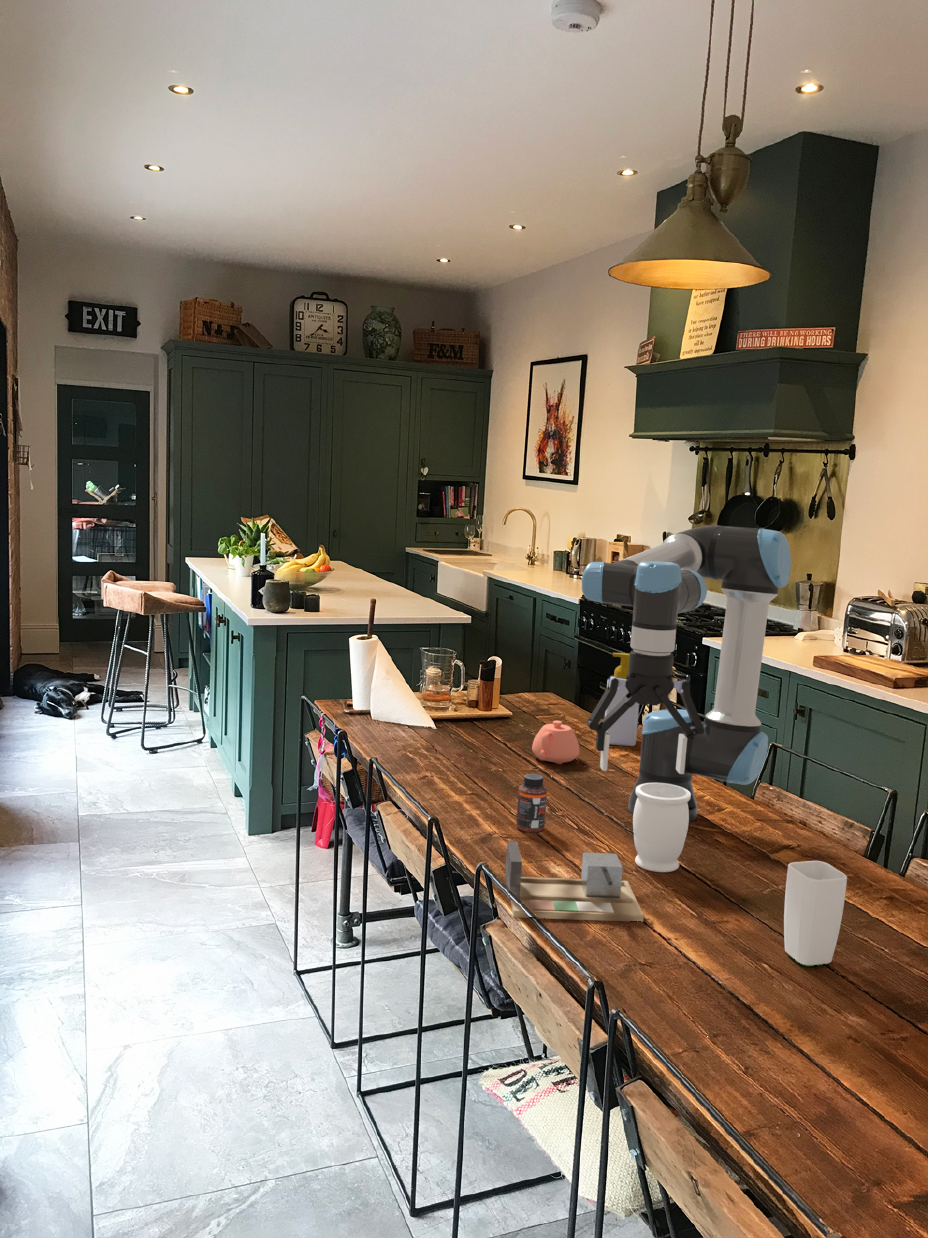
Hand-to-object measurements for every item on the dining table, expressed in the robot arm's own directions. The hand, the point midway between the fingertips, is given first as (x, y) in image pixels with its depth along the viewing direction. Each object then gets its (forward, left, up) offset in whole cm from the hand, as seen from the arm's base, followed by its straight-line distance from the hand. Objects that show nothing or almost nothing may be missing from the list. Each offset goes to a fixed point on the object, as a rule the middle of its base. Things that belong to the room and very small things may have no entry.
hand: (641, 770), depth 174 cm
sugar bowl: (+4, -82, -24) cm, 85 cm away
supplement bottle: (+15, -32, -24) cm, 42 cm away
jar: (-8, -15, -24) cm, 29 cm away
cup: (-24, +21, -24) cm, 40 cm away
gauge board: (+11, +3, -23) cm, 26 cm away
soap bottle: (-17, -102, -24) cm, 106 cm away
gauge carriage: (+6, +4, -22) cm, 23 cm away
